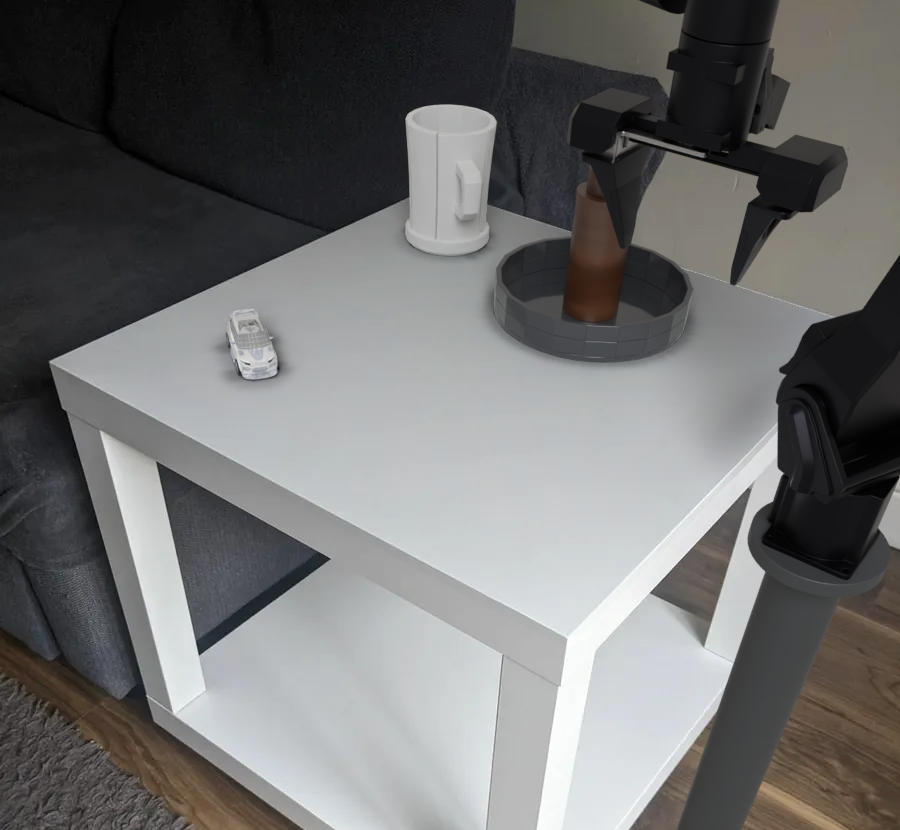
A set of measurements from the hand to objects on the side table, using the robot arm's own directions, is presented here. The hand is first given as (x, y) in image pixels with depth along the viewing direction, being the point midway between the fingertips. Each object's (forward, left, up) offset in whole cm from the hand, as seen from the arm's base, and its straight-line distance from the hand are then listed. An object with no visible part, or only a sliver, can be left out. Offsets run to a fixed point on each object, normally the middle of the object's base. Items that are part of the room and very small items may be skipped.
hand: (678, 264), depth 74 cm
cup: (+31, -14, -12) cm, 36 cm away
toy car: (+30, +16, -12) cm, 36 cm away
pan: (+12, -10, -12) cm, 20 cm away
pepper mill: (+12, -10, -12) cm, 19 cm away
